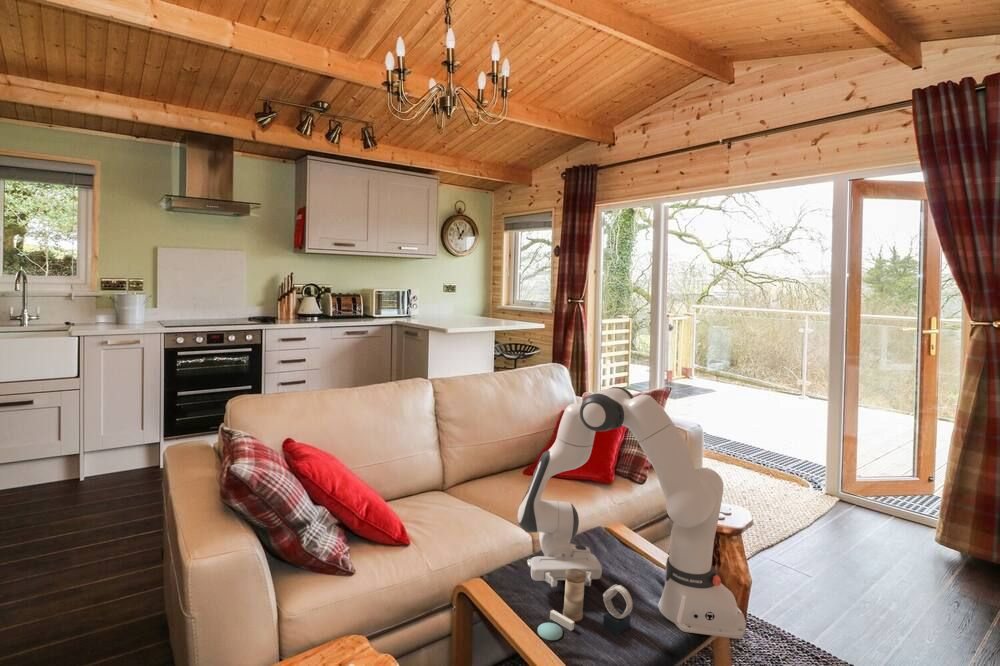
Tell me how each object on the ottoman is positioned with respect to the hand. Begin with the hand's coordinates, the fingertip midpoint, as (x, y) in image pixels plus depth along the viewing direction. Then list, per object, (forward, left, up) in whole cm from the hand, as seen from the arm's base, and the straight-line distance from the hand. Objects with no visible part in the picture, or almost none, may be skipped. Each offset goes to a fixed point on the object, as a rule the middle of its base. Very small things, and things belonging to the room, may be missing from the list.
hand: (571, 584), depth 155 cm
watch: (-13, +3, -7) cm, 15 cm away
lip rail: (+1, +8, -7) cm, 10 cm away
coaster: (+3, +12, -7) cm, 14 cm away
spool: (-1, +3, -7) cm, 8 cm away
